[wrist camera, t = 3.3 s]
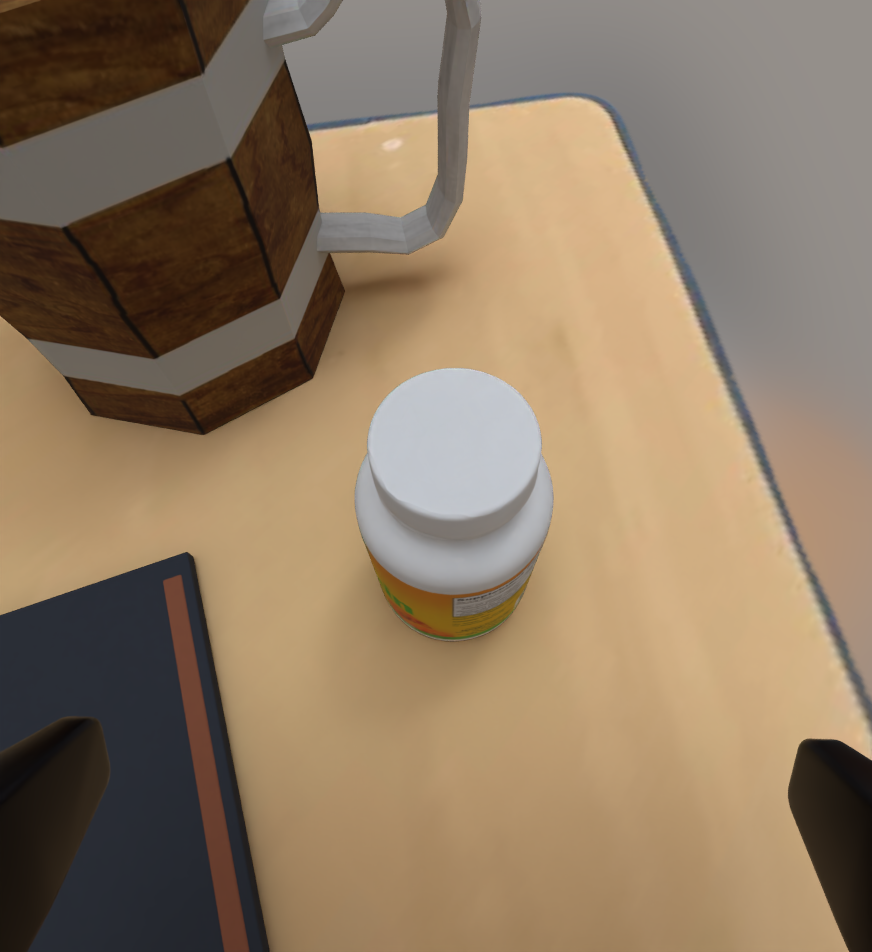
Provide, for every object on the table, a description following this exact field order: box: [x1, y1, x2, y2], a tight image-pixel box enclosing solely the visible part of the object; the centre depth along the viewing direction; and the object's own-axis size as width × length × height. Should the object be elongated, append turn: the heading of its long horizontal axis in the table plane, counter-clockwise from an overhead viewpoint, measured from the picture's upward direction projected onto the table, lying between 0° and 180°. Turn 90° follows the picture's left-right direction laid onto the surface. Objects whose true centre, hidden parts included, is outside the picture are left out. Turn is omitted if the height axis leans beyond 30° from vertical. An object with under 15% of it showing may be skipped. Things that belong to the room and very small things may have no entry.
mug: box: [0, 0, 481, 435], centre depth 21 cm, size 20×14×15 cm
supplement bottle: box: [355, 368, 553, 641], centre depth 18 cm, size 5×5×10 cm
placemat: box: [0, 552, 269, 952], centre depth 17 cm, size 20×14×1 cm
